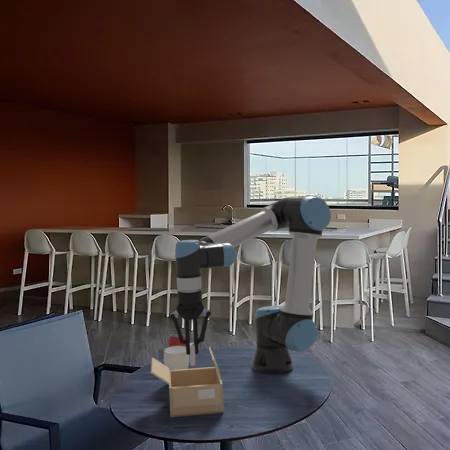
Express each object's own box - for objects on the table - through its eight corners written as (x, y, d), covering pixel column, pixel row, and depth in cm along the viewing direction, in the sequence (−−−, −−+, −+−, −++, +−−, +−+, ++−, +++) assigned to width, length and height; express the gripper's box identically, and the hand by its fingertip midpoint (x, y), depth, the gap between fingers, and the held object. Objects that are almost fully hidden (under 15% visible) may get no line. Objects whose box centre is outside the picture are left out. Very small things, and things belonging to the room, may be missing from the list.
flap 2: (216, 364, 167) (210, 346, 166) (221, 379, 153) (214, 359, 153) (215, 364, 167) (208, 346, 166) (220, 379, 153) (212, 360, 153)
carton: (217, 393, 169) (217, 366, 168) (223, 413, 153) (222, 384, 152) (169, 397, 167) (168, 370, 166) (170, 418, 151) (169, 388, 150)
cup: (186, 388, 174) (184, 354, 173) (161, 387, 176) (159, 353, 175) (193, 378, 183) (191, 346, 182) (169, 377, 184) (167, 345, 184)
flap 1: (169, 368, 165) (152, 357, 164) (169, 383, 152) (151, 371, 151) (168, 369, 165) (151, 358, 164) (168, 384, 152) (150, 373, 151)
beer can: (172, 361, 202) (171, 332, 201) (188, 362, 201) (187, 332, 200) (168, 367, 195) (166, 337, 194) (184, 367, 194) (183, 337, 194)
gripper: (209, 286, 162) (212, 358, 164) (168, 289, 160) (171, 362, 162) (211, 290, 155) (214, 366, 156) (168, 293, 153) (172, 370, 155)
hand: (192, 364), depth 159 cm, fingers closed
